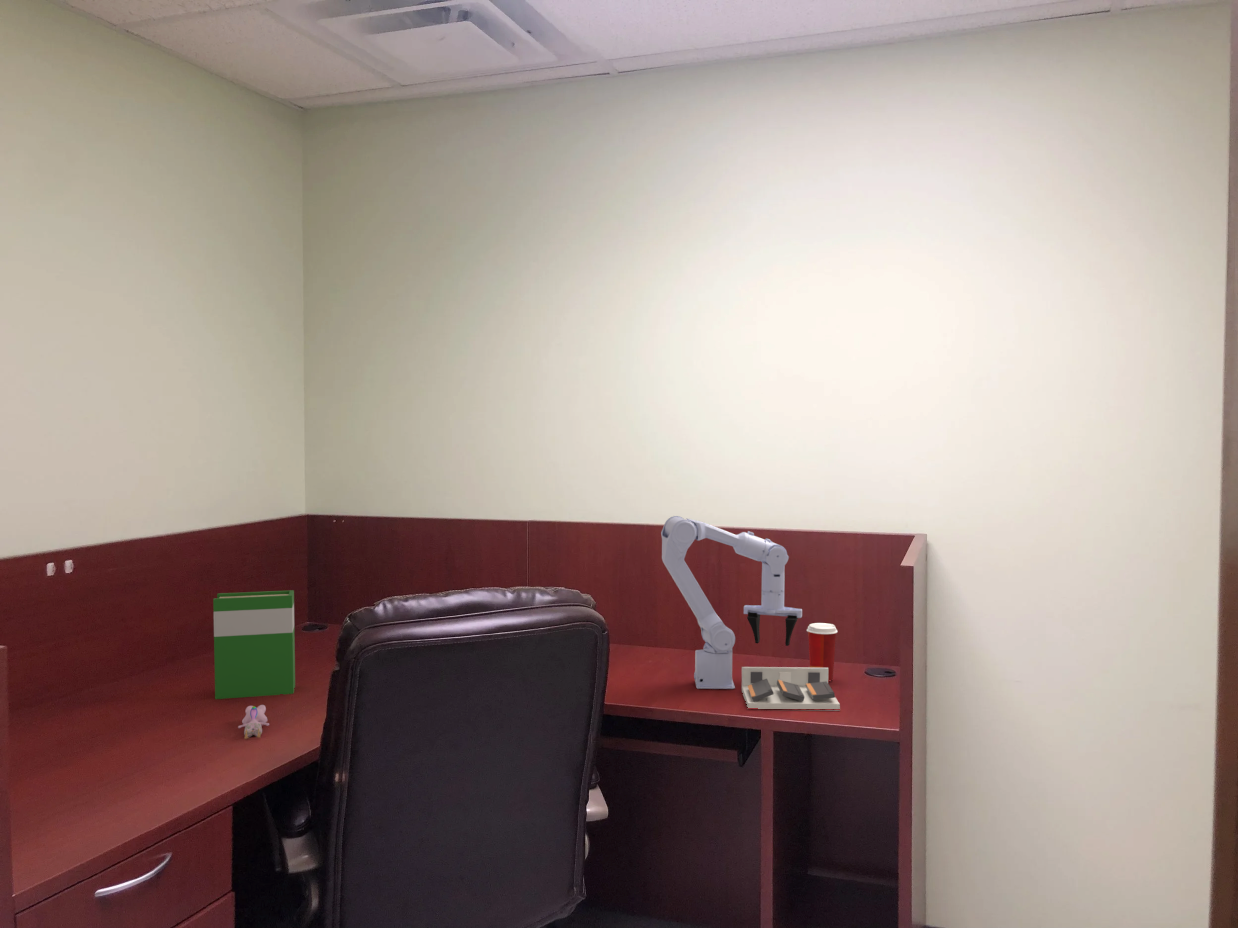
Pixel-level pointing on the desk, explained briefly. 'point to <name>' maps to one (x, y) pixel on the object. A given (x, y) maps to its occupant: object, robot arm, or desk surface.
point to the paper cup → (822, 646)
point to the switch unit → (789, 675)
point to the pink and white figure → (254, 721)
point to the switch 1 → (760, 690)
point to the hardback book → (254, 644)
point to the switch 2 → (790, 690)
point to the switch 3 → (820, 690)
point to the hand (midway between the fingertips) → (772, 643)
